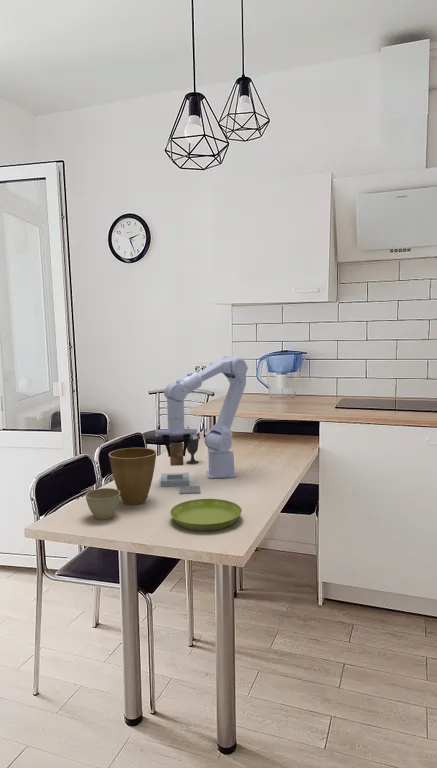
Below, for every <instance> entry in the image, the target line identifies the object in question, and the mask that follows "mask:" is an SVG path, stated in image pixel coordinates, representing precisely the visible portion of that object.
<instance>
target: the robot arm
mask: <svg viewBox="0 0 437 768" xmlns="http://www.w3.org/2000/svg"><path fill="white" fill-rule="evenodd" d="M248 369H249V366H248V365H247V363H246V361H245V359H244V358H242V357H232V356H231V357H230V356H223V357H222V358H218V359H217V360H216V361H215V362H213V363H212V364H210V365H209V366H207V367H205V368H204V369H202V370H201V371H200V372H197V373H196V372H187V373H186V376H184V377H182V378H180V379H177V380H176V381H175V382H172V383H171V382H170V383H168V384H167V385H166V387H165V389H164V391H163V395H164V397H165V398H166V402H167V403H166V404H167V408H166V409H167V428H166V429H156V430H155V431H154V433H155V435H154V436H155V437H157V438H158V437H162V439H161V440H162V442H163V443H164V446H165V448H166V452H167V456H168V457H169V458H170V443H171V442H170V441H171V439H170V437H171V436H172V437H173V436H174V437H175V436H179V437H180V436H182V439H183V440H182V441H183V442H182V443H183V457H186V451H187V445H188V443H189V440H190V435H194V436H196V435H197V434H198V429H197V428H190V429H189V428H185V405H184V404H185V402H184V401H185V399H186V397H187V395H189V394H191V393H193V392H194V391H195V390H197V389H199V388H201V387H202V384H203V382H204V381H206V380H208V379H211V378H213V377H214V376H216V375H219V374H223V375H224V377H226V379H227V381H228V382H229V387H228V389H227V393H226V395H225V398H224V401H223V403H222V406H221V409H220V412H219V415H218V418H217V419H216V423H215V424H213V426H211V427H210V430H209V432H207V434H206V435H205V437H204V444H205V445H204V446H205V447H207V451H208V458H207V459H208V470H207V471H206V473H207V478H208V479H216V478H217V479H220V478H224V479H225V478H235V455H234V451H232V450H231V451H230V449H231V448H232V443H233V436H234V435H233V432H232V429H231V427H232V425H233V421H234V420H235V416H236V414H237V411H238V408H239V405H240V402H241V398H242V396H243V393H244V391H245V388H246V384H247V372H248Z"/></svg>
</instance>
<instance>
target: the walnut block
mask: <svg viewBox="0 0 437 768" xmlns="http://www.w3.org/2000/svg"><path fill="white" fill-rule="evenodd" d="M183 446H184V444H183V442H170V457H169V463H170V466H172V467H173V466H174V467H176V466H177V467H178V466H184V456H183Z"/></svg>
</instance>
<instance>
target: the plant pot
mask: <svg viewBox="0 0 437 768" xmlns="http://www.w3.org/2000/svg"><path fill="white" fill-rule="evenodd" d="M108 458H109V463H110V468H111V473H112V476H113V479H114V483H115V486H116V489H117V490H119V491H120V499H121V502H122V503H123V504H124V505H128V506H136V505H141V504H145V502H146V501H147V500H148V496H149V493H150V489H151V486H152V483H153V477H154V472H155V468H156V467H155V466H156V460H157V459H156V458H157V450H155V449H152V448H148V447H129V448H128V447H127V448H119V449H116V450H112V451H110V452H109V453H108Z"/></svg>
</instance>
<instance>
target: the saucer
mask: <svg viewBox="0 0 437 768" xmlns="http://www.w3.org/2000/svg"><path fill="white" fill-rule="evenodd" d="M169 511H170V512H169V513H170V516H171V518H172V520H173V521H175V522H176V523H177V524H178V525H179V526H181V527H182V528H185V529H188V530H190V531H191V530H192V531H200V532H209V531H217V530H218V531H219V530H221V529H225V528H227V527H229V526H231V525H233V524H234V523H235V522H237V520H238V519H239V518H240V516H241V515H242V512H243V510H242V507H241V506H240V505H239V504H238V503H235V502H233V501H230V500H225V499H219V498H197V499H190V500H186V501H183V502H180V503H178V504H176V505H174V506H173V507H172V508H171V509H170V510H169Z"/></svg>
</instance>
